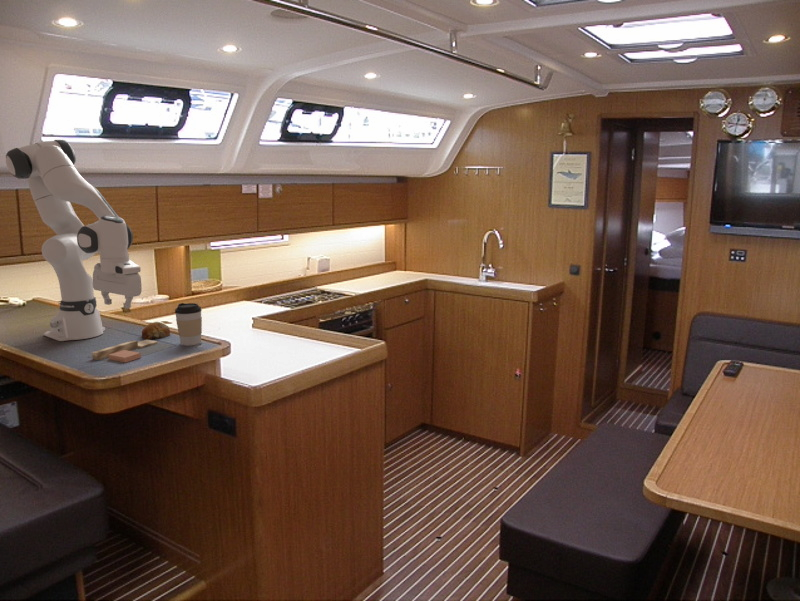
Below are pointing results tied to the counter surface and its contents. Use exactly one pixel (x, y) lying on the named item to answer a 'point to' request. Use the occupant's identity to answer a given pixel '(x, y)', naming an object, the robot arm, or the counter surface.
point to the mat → (144, 351)
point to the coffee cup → (189, 323)
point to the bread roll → (155, 331)
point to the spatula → (121, 348)
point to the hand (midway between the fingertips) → (117, 306)
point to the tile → (124, 356)
